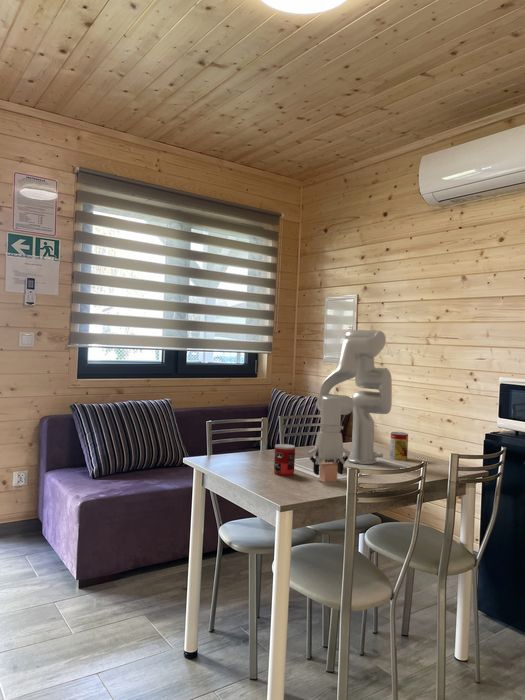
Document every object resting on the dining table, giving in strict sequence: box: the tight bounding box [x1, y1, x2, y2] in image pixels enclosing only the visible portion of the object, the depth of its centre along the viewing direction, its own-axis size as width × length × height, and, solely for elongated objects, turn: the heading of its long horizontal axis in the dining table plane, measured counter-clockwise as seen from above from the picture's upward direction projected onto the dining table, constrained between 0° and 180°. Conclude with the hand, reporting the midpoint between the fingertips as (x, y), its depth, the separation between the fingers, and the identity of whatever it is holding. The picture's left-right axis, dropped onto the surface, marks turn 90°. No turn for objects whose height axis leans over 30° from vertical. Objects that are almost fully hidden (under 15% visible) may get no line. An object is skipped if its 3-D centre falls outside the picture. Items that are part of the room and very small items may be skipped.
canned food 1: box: [273, 443, 296, 477], centre depth 206 cm, size 8×8×11 cm
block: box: [319, 462, 338, 482], centre depth 199 cm, size 5×5×6 cm
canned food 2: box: [389, 431, 409, 462], centre depth 245 cm, size 8×8×12 cm
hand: (328, 473), depth 199 cm, fingers open, 9 cm apart
